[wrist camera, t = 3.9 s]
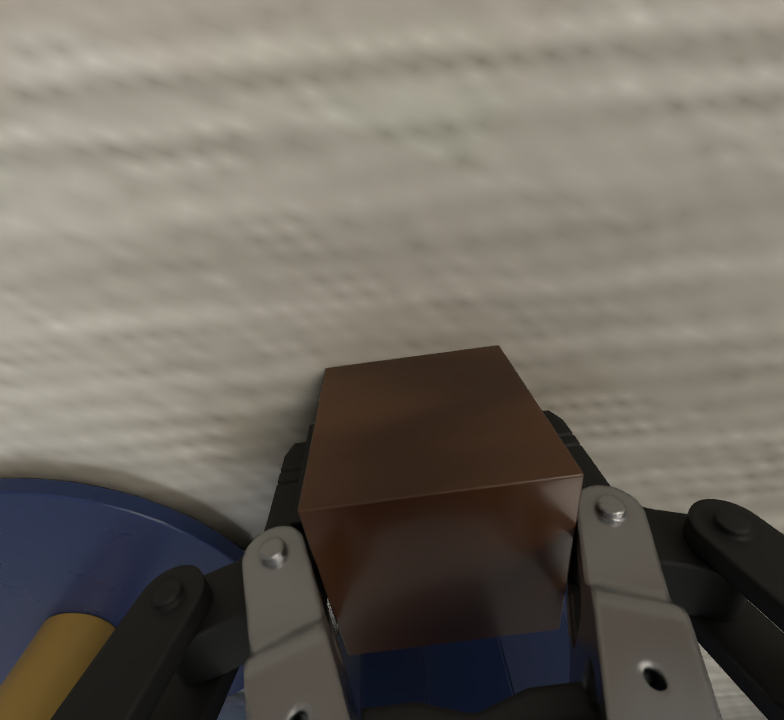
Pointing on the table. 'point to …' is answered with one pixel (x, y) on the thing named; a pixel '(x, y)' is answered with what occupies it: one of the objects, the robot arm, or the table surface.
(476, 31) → the table surface
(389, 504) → the block
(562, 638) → the tin
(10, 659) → the lid
